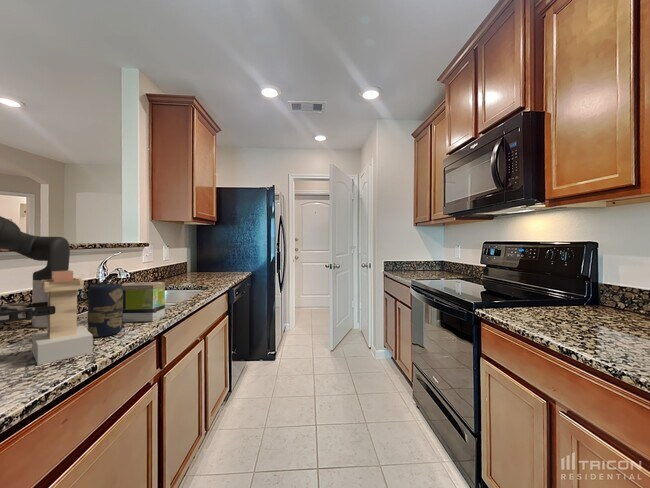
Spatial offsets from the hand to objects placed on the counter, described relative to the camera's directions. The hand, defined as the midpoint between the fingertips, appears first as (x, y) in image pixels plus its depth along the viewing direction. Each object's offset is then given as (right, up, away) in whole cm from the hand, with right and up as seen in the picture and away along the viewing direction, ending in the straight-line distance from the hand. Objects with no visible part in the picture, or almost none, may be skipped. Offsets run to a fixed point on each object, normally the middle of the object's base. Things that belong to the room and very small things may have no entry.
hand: (52, 307), depth 80 cm
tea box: (0, -13, +37) cm, 40 cm away
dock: (+1, -13, +2) cm, 13 cm away
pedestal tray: (+1, -8, +2) cm, 8 cm away
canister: (+1, -13, +18) cm, 22 cm away
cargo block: (+1, +6, +2) cm, 6 cm away
